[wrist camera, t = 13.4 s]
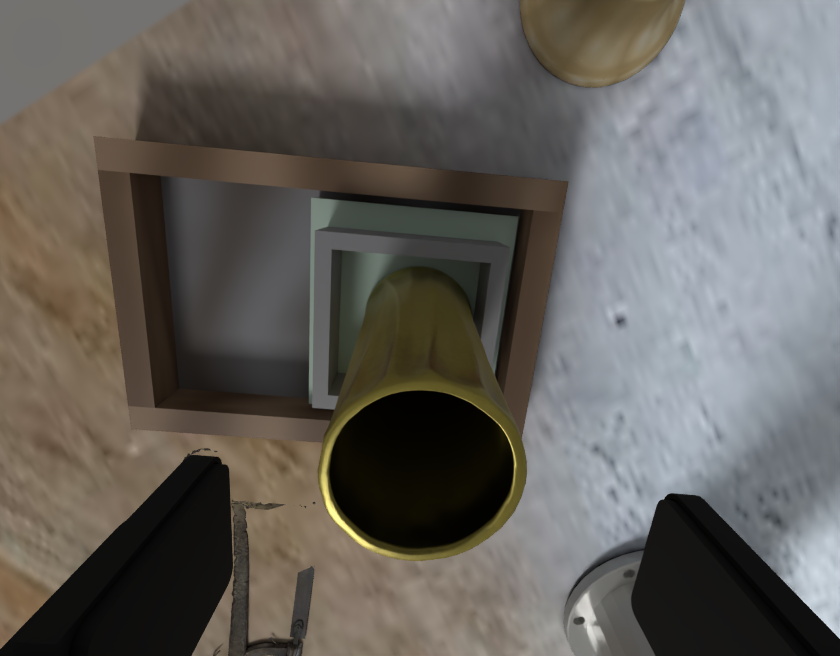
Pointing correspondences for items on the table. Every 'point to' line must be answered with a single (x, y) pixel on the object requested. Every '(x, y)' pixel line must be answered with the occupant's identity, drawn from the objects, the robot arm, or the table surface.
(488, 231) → the square serving tray
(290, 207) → the open wooden box
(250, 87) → the table surface
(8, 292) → the table surface
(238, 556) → the hacksaw
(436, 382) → the vase
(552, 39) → the hand bell
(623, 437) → the table surface
